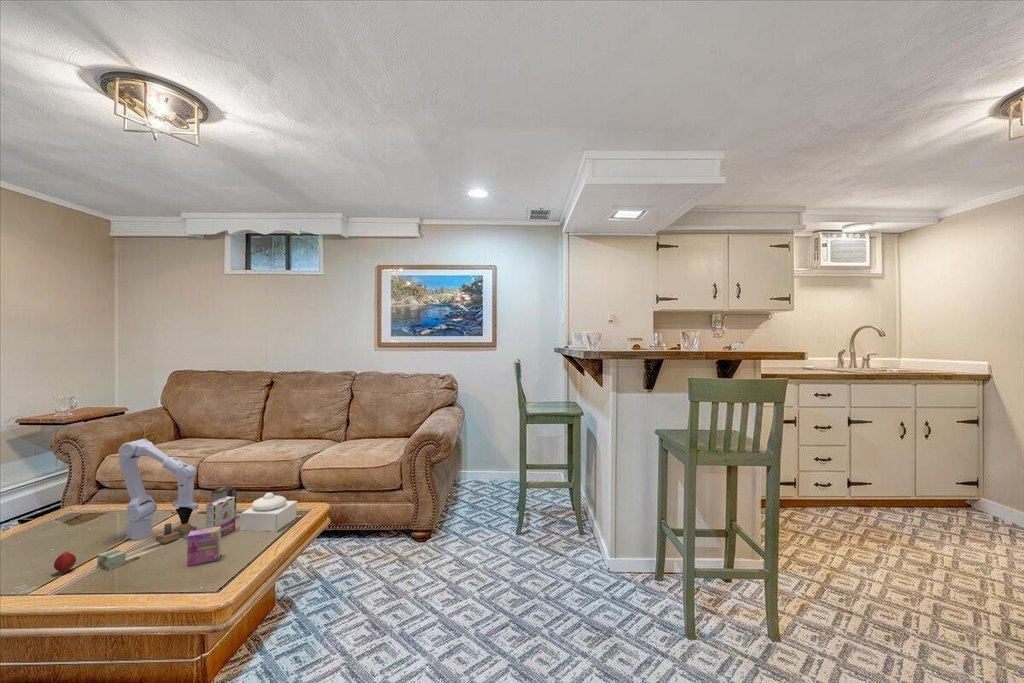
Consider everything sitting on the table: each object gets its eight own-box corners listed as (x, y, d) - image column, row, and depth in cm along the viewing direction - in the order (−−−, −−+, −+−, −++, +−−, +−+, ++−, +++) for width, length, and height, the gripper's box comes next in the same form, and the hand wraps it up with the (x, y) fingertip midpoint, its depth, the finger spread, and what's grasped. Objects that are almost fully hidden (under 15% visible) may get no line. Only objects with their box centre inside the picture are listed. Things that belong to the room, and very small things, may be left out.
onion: (55, 577, 159) (56, 555, 159) (51, 573, 162) (52, 551, 162) (77, 570, 164) (78, 549, 164) (73, 566, 167) (73, 546, 167)
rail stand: (97, 566, 167) (97, 554, 167) (184, 534, 197) (184, 524, 197) (109, 569, 164) (110, 558, 164) (196, 536, 194) (196, 526, 194)
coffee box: (225, 517, 217) (225, 485, 218) (236, 518, 216) (237, 486, 217) (210, 524, 208) (210, 491, 209) (222, 525, 207) (222, 491, 208)
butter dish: (262, 517, 218) (263, 486, 218) (297, 518, 217) (297, 486, 217) (239, 532, 200) (240, 497, 201) (277, 532, 199) (277, 498, 200)
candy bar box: (226, 531, 200) (227, 495, 201) (235, 532, 200) (236, 496, 200) (204, 541, 190) (205, 504, 190) (214, 542, 189) (215, 504, 189)
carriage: (155, 540, 185) (155, 526, 185) (170, 535, 191) (171, 521, 191) (164, 543, 183) (164, 527, 183) (179, 537, 189) (180, 522, 189)
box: (186, 566, 167) (187, 535, 168) (189, 560, 172) (190, 530, 173) (218, 560, 172) (219, 530, 172) (220, 554, 177) (221, 525, 177)
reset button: (178, 535, 192) (178, 525, 193) (186, 532, 195) (186, 522, 196) (183, 536, 191) (183, 526, 191) (190, 533, 194) (191, 523, 194)
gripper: (165, 493, 193) (164, 524, 192) (187, 497, 188) (186, 529, 187) (182, 489, 199) (181, 518, 199) (203, 492, 194) (202, 523, 194)
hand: (184, 523), depth 193 cm, fingers closed
